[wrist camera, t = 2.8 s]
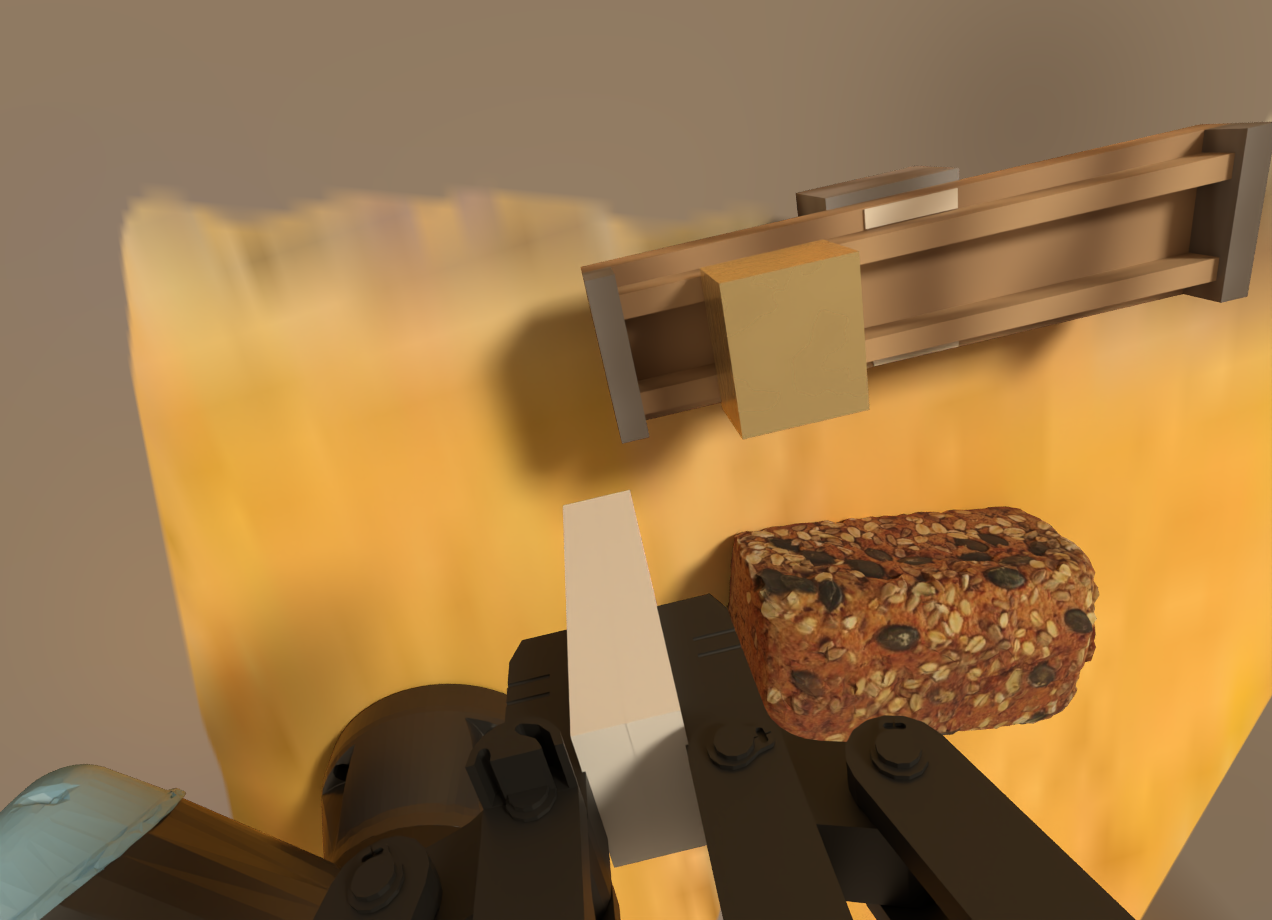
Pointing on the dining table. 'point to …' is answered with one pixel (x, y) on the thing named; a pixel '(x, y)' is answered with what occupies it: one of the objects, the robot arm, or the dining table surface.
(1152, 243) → the beam
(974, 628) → the bread
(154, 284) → the dining table surface
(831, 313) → the block
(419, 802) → the robot arm
